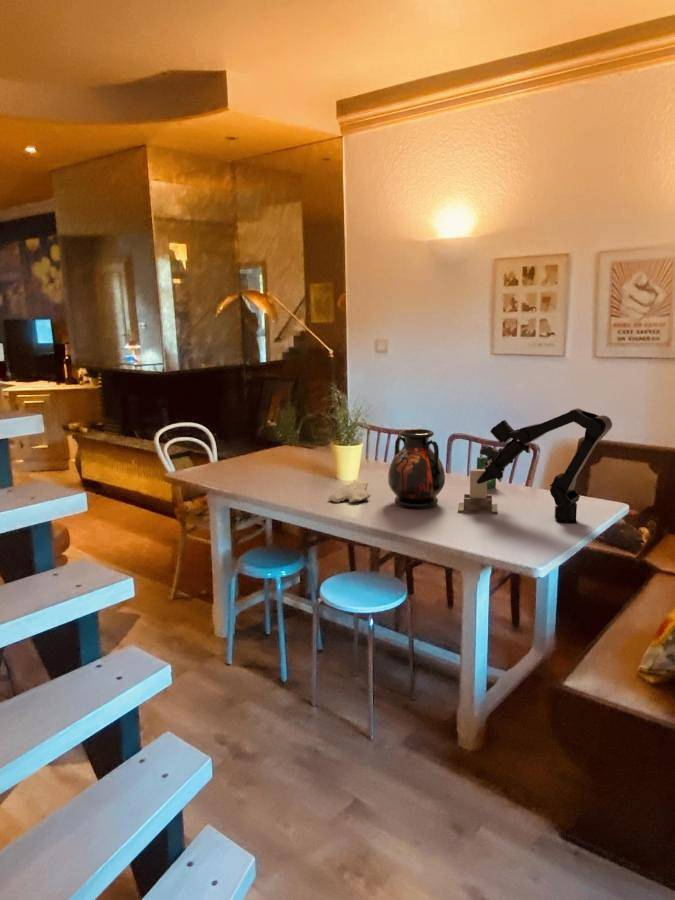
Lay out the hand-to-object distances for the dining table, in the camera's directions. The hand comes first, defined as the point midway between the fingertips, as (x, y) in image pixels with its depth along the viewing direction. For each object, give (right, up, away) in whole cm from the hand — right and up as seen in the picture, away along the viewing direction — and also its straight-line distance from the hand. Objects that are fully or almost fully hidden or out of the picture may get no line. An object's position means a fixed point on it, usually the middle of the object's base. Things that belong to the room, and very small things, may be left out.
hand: (477, 481), depth 243 cm
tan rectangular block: (+1, -6, +1) cm, 7 cm away
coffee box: (+10, -4, +31) cm, 33 cm away
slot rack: (+1, -10, +2) cm, 10 cm away
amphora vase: (-21, -9, +11) cm, 25 cm away
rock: (-44, -8, +21) cm, 49 cm away
